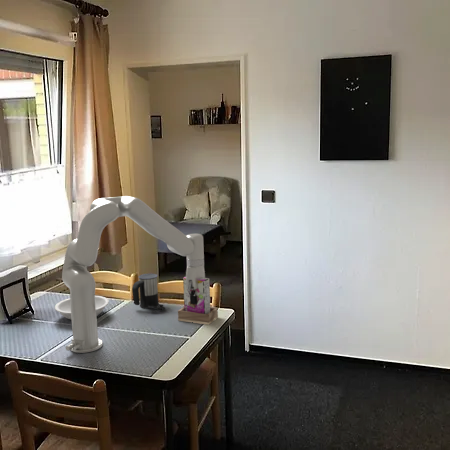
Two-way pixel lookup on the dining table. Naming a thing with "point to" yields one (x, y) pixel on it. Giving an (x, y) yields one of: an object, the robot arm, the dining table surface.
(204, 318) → the open wooden box
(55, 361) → the dining table surface
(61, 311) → the soup bowl
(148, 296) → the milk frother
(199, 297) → the candy bar box
